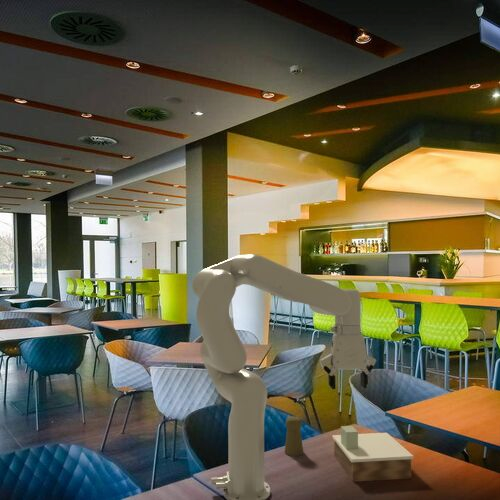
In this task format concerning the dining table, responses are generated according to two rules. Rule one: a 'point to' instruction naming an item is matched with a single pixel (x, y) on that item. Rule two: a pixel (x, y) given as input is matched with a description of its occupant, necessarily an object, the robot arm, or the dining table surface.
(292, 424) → the cork
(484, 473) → the dining table surface
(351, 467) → the open wooden box
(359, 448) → the lid
